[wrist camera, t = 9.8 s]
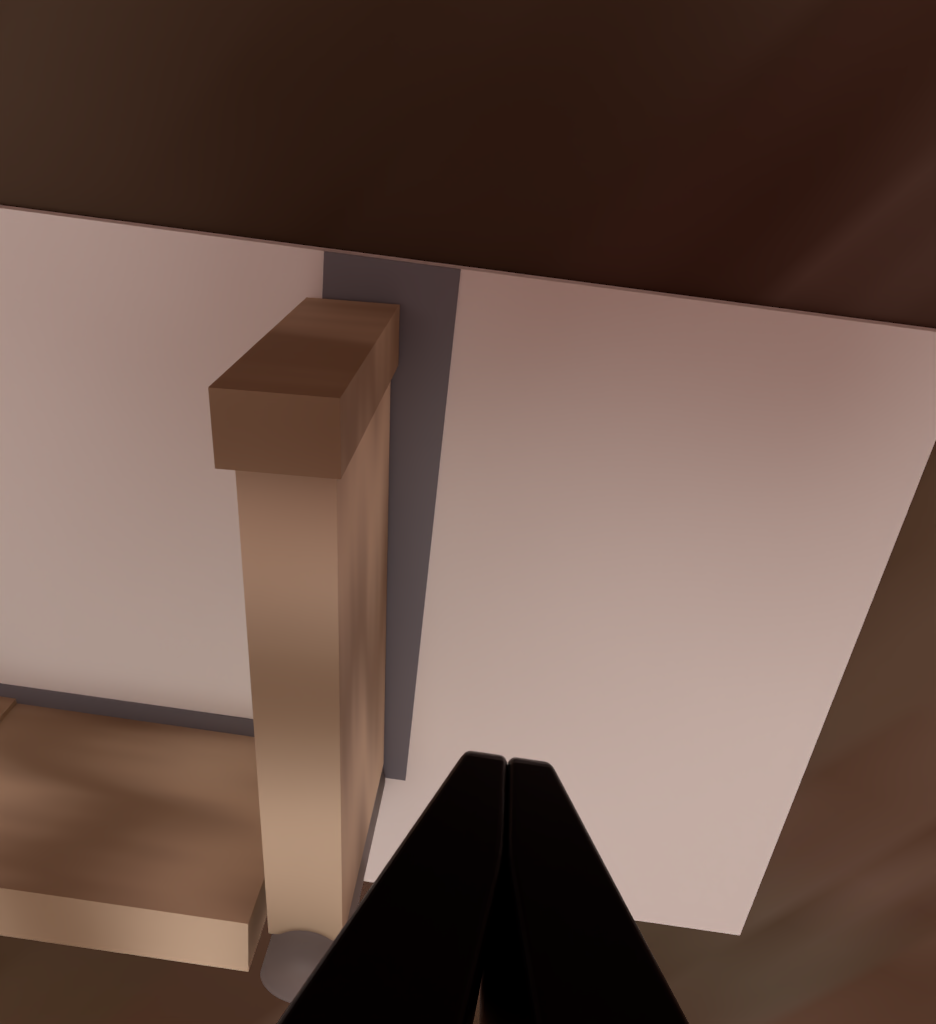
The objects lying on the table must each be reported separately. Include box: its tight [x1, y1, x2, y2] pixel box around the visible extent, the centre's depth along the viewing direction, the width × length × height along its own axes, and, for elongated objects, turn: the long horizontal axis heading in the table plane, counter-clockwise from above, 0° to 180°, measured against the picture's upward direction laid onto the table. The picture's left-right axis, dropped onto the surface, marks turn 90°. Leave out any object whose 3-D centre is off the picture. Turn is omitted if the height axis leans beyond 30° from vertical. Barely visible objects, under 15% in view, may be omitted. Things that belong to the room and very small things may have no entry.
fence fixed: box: [0, 696, 267, 972], centre depth 19 cm, size 9×2×6 cm, turn 84°
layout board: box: [0, 205, 936, 935], centre depth 20 cm, size 22×17×1 cm
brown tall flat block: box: [208, 297, 400, 1003], centre depth 17 cm, size 13×2×6 cm, turn 177°
